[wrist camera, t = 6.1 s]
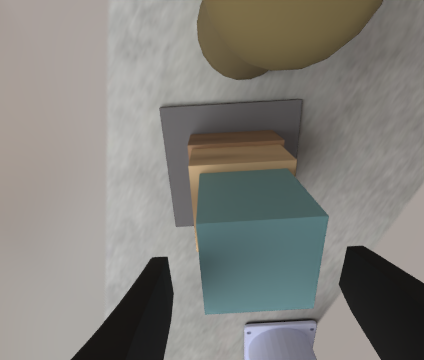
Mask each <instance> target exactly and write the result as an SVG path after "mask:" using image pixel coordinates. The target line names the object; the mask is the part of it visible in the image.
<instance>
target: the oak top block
mask: <svg viewBox="0 0 424 360" xmlns="http://www.w3.org/2000/svg"><path fill="white" fill-rule="evenodd" d="M296 165H297V160H296V159H295V158H294V157H293V156H292V155H291V154H290V153H289V152H288V151H287V150H286V149H285V148H284V147H283V146H281V145H280V144H276V145H258V146H241V147H223V148H205V149H192V151H191V155H190V160H189V165H188V168H189V178H190V188H191V198H192V208H193V218H194V229H195V239H196V249H197V252H199V250H198V240H197V231H196V215H197V201H198V188H199V174H201V173H217V172H233V171H250V170H266V169H282V168H287V169H288V170H289V171H290V172H291V173H292V174H293V175H294V177H295V175H296Z"/></svg>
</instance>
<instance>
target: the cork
mask: <svg viewBox="0 0 424 360" xmlns="http://www.w3.org/2000/svg"><path fill="white" fill-rule="evenodd" d="M382 2H383V0H203V1H202V3H201V5H200V10H199V15H198V20H197V31H198V41H199V44H200V47H201V50H202V53H203V55H204V57H205V58H206V59H207V61H208V62H209V64H210V65H211V66H212V68H214V69H215V70H216V71H218V72H219V73H221V74H222V75H223V76H226V77H229V78H232V79H236V80H244V79H252V78H255V77H257V76H260V75H262V74H264V73H266V72H267V71H268V70H270V71H273V70H293V69H302V68H305V67H307V66H310V65H312V64H315V63H317V62H320V61H322V60H325V59H327V58H328V57H330V56H331V55H332V54H333V53H335V52H336V51H337V50H339V49H340V48H341V47H342V46H344V45H345V44H346V43H347V42H349V41H350V40H351V39H353V38H354V37H355V36H356V35H358V34H359V33H360V32H361V30H362V29H363V28H364V26H365V25H366V24H367V22H368V21H369V20H370V19H371V17H372V16H373V15H374V13H375V12H376V11H377V9H378V8H379V7H380V6H381V4H382Z"/></svg>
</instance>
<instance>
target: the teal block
mask: <svg viewBox="0 0 424 360" xmlns="http://www.w3.org/2000/svg"><path fill="white" fill-rule="evenodd" d="M328 218H329V216H328V215H327V213H326V212H325V211H324V210H323V209H322V208H321V207H320V205H319V204H318V203H317V202H316V201H315V200H314V198H313V197H312V196H311V195H310V194H309V193H308V192H307V190H306V189H305V188H304V187H303V186H302V185H301V183H300V182H299V181H298V180H297V179H296V178H295V177H294V175H293V174H292V173H291V172H290V171H289V170H288V169H287V168H282V169H266V170H250V171H233V172H217V173H201V174H199V188H198V201H197V215H196V231H197V240H198V250H199V260H200V270H201V279H202V289H203V299H204V309H205V315H206V314H224V313H241V312H258V311H275V310H292V309H309V308H313V307H314V301H315V295H316V289H317V283H318V277H319V271H320V265H321V259H322V253H323V248H324V242H325V236H326V230H327V224H328Z"/></svg>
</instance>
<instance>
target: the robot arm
mask: <svg viewBox="0 0 424 360" xmlns="http://www.w3.org/2000/svg"><path fill="white" fill-rule="evenodd" d="M339 286H340V288H341V290H342V293H343V295H344V297H345V299H346V301H347V303H348V305H349V307H350V310H351V311H352V313H353V315H354V316H355V318H356V320H357V321H358V323H359V325H360V326H361V328H362V329H363V331H364V333H365V334H366V336H367V338H368V339H369V341H370V343H371V344H372V346H373V347H374V349H375V350H376V352H377V354H378V356H379V357H380V359H381V360H424V283H422V282H421V281H419V280H418V279H416V278H414V277H413V276H411V275H410V274H408V273H406V272H405V271H403V270H402V269H400V268H398V267H397V266H395V265H394V264H392V263H390V262H389V261H387V260H386V259H384V258H382V257H381V256H379V255H378V254H376V253H374V252H373V251H371V250H369V249H368V248H366V247H364V246H349V247H347V250H346V255H345V259H344V264H343V268H342V273H341V277H340V281H339ZM173 295H174V293H173V287H172V281H171V275H170V269H169V263H168V257H152V258H151V259H150V261H149V262H148V264H147V265H146V267H145V268H144V270H143V271H142V273H141V274H140V275H139V277H138V278H137V280H136V281H135V283H134V284H133V285H132V287H131V288H130V289H129V291H128V292H127V293H126V295H125V296H124V297H123V299H122V300H121V301H120V303H119V304H118V305H117V307H116V308H115V309H114V310H113V312H112V313H111V314H110V315H109V317H108V318H107V319H106V320H105V321H104V323H103V324H102V325H101V326H100V328H99V329H98V330H97V331H96V332H95V333H94V335H93V336H92V337H91V338H90V339H89V340H88V341H87V343H86V344H85V345H84V346H83V347H82V348H81V349H80V350H79V351H78V352H77V353H76V354H75V356H74V357H73V358H72V359H71V360H163V359H164V354H165V349H166V344H167V339H168V334H169V329H170V324H171V317H172V306H173ZM316 328H317V324H316V322H315V321H312V320H310V321H292V322H274V323H256V324H246V325H245V326H244V360H317V359H316V357H315V354H314V351H313V343H314V338H315V333H316Z"/></svg>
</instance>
